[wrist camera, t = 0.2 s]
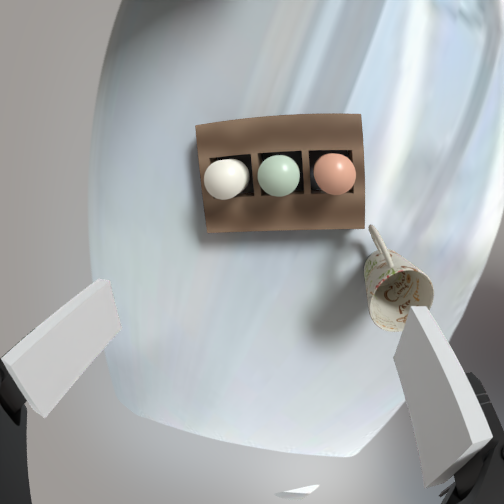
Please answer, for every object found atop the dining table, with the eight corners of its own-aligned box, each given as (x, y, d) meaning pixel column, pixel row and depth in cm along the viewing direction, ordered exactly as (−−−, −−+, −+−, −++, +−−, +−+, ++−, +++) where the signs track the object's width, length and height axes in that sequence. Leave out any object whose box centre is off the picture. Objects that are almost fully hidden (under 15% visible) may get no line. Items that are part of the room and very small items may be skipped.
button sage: (261, 156, 32) (255, 156, 28) (298, 154, 31) (298, 154, 27) (264, 192, 33) (259, 197, 30) (300, 190, 32) (300, 195, 29)
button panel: (204, 127, 35) (195, 125, 32) (355, 117, 31) (360, 114, 28) (215, 225, 39) (207, 233, 36) (359, 221, 36) (364, 228, 32)
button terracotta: (312, 153, 31) (313, 153, 27) (348, 153, 30) (355, 153, 26) (314, 190, 32) (315, 195, 28) (350, 189, 31) (356, 194, 28)
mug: (367, 302, 39) (381, 342, 30) (333, 231, 37) (343, 258, 28) (414, 277, 37) (439, 312, 28) (386, 203, 34) (412, 222, 25)
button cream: (213, 160, 33) (201, 162, 29) (248, 157, 32) (240, 158, 28) (216, 195, 34) (206, 201, 31) (251, 192, 34) (244, 198, 30)
